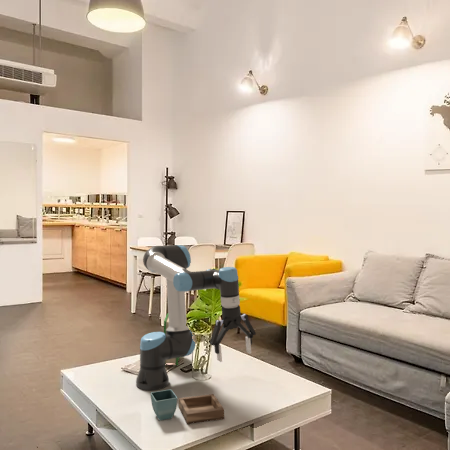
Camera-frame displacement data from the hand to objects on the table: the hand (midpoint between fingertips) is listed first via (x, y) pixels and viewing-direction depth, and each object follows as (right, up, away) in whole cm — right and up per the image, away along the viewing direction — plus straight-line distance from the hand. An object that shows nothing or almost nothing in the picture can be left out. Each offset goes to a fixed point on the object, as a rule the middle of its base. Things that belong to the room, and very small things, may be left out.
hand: (234, 356), depth 182 cm
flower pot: (-28, -23, -5) cm, 37 cm away
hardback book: (-32, -20, +59) cm, 70 cm away
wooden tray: (-14, -23, -1) cm, 26 cm away
